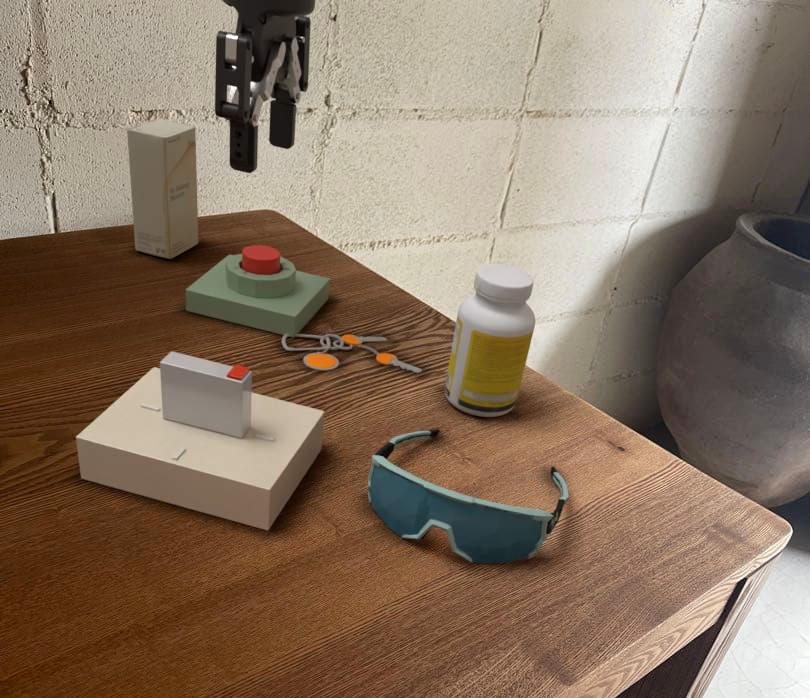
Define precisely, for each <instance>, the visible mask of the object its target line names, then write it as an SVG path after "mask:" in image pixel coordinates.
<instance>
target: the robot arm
mask: <svg viewBox="0 0 810 698" xmlns="http://www.w3.org/2000/svg"><path fill="white" fill-rule="evenodd" d="M221 1H222V2H223V3H224V4H225V5H227V6H229V7H232V8H234V9H235V11H236V12H237V19H236V20H237V21H236V28H235V32H231V31H229V32H228V31H223V30H218V32H217V33H216V39H215V81H214V83H215V85H214V87H215V88H214V115H215V116H216V117H218V118H223V119H225V120H226V121H228V122H229V166H230V168H231V169H232V170H234V171H239V172H241V173H245V174H252V173H254V172H255V171H257V169H258V153H259V152H258V149H259V148H258V147H259V146H258V145H259V144H258V143H259V125H257V124H258V122H259V119H260V115H261V111H262V107H263V104H264V103H265V102H267V101H269V100H270V99H271V98H272V100H270V102H269V129H268V130H269V133H268V134H269V135H268V142H269V143H270V145H271V146H272V147H276V148H281V149H285V150H289V149H291V148H292V147H294V145H295V141H296V140H295V138H296V137H295V136H296V122H297V121H296V119H297V104H298V105H299V103H300V101H301V97H302V95H301V94H302V92H303V93H306V92H307V90H308V89H309V74H310V48H311V47H310V45H311V43H310V42H311V26H312V23H311V18H310V17H309V15H311V14H312V13H313V12H314V10H315V8H316V0H221ZM228 88H229V92H228Z"/></svg>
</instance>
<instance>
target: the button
mask: <svg viewBox="0 0 810 698" xmlns="http://www.w3.org/2000/svg"><path fill="white" fill-rule="evenodd" d="M241 254H242V269H243V270H244V271H246V272H249V273H253V274H257V275H272V274H276V273H279V272H280V256H281V252H280V251H279V249H276V248H274V247H272V246H268V245H263V244H262V245H261V244H259V245H258V244H254V245H248V246H246V247H244V248H243V249H242V251H241Z"/></svg>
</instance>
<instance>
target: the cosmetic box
mask: <svg viewBox="0 0 810 698" xmlns="http://www.w3.org/2000/svg"><path fill="white" fill-rule="evenodd" d="M126 132H127V134H126V135H127V144H128V145H127V149H128V162H129V163H128V164H129V176H130V177H129V178H130V191H131V192H130V193H131V207H132V220H133V235H134V249H135V251H137V252H141V253H144V254H147V255H151V256H155V257H159V258H162V259H167V260H171V259H174V258H175V257H177V256H179V255H182V253H184V252H186V251H188V250H190V249H192V248H194V247H195V246H196V245H198V244H199V213H198V212H199V211H198V210H199V209H198V207H199V206H198V177H197V176H198V172H197V171H198V170H197V143H196V142H197V139H196V138H197V137H196V135H197V134H196V126H194V125H190V124H186V123H182V122H177V121H173V120H168V119H164V118H156V119H153V120H151V121H147V122H144V123H141V124H138V125H134V126H133V127H130V128H127V129H126Z"/></svg>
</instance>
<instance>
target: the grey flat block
mask: <svg viewBox="0 0 810 698" xmlns="http://www.w3.org/2000/svg"><path fill="white" fill-rule="evenodd" d="M159 368H160V375H161V394H162V413H163V418H164V419H168V420H172V421H176V422H180V423H184V424H187V425H191V426H195V427H199V428H203V429H207V430H211V431H215V432H219V433H222V434H226V435H230V436H234V437H238V438H242V437H243V436H244V434H245V433H246V432H247V431H248V429H249V428H250V427H251V402H252V393H253V371H252V370H250V367H246V366H242V365H238V364H235V365H229V364H225V363H220V362H217V361H213V360H209V359H204V358H200V357H198V356H193V355H189V354H185V353H180V352H176V351H170V352H169V353H168V354H167V355H165V357H163V358H162V359H161V360H160V361H159Z"/></svg>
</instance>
